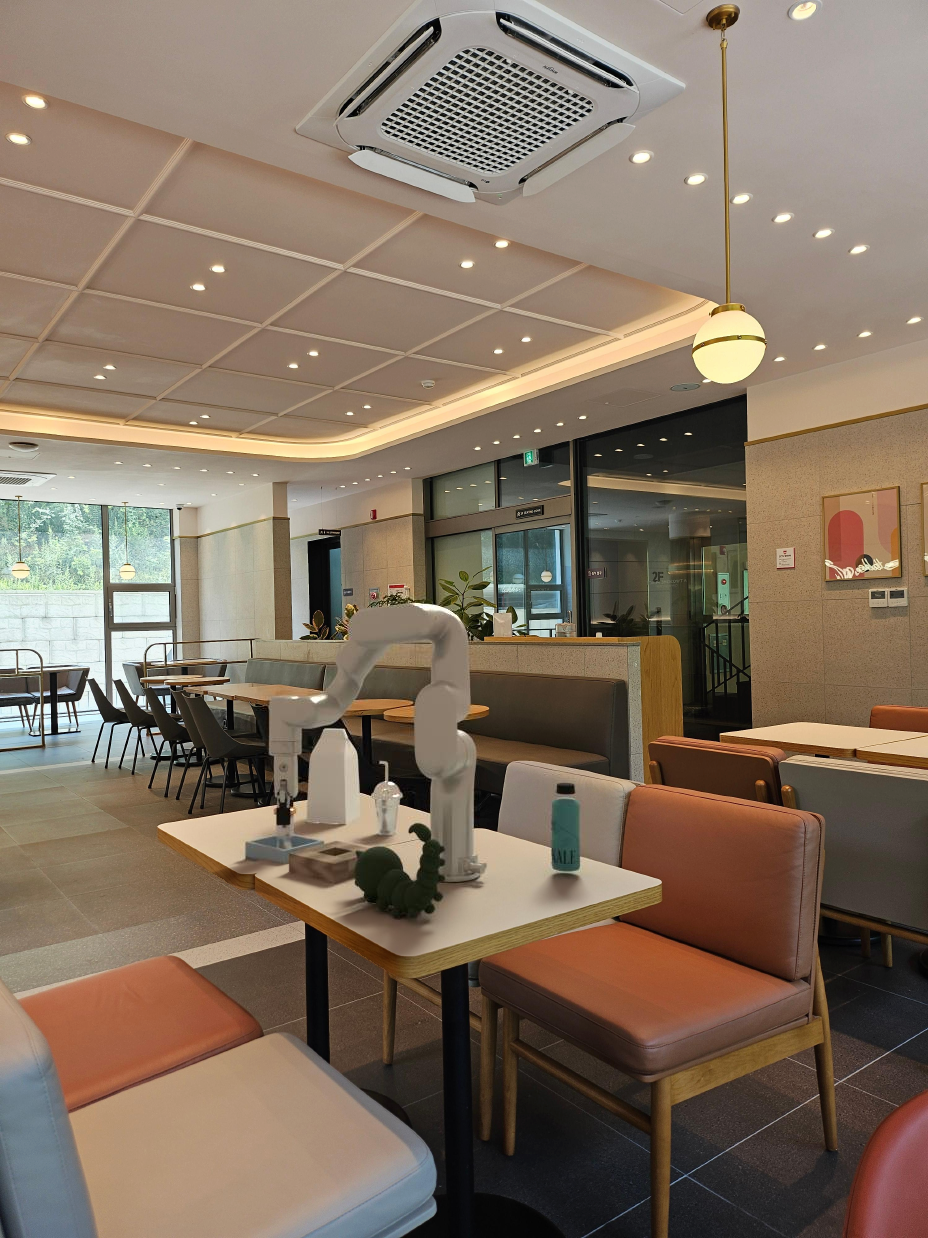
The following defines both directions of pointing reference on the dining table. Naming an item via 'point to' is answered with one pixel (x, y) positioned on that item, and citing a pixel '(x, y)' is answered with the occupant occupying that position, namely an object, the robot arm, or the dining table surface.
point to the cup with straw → (386, 804)
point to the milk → (333, 780)
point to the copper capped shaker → (285, 833)
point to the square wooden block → (326, 861)
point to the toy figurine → (401, 877)
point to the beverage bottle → (565, 830)
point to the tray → (268, 850)
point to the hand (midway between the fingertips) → (285, 820)
